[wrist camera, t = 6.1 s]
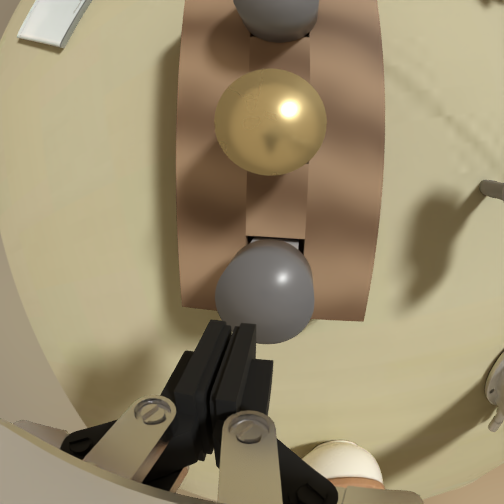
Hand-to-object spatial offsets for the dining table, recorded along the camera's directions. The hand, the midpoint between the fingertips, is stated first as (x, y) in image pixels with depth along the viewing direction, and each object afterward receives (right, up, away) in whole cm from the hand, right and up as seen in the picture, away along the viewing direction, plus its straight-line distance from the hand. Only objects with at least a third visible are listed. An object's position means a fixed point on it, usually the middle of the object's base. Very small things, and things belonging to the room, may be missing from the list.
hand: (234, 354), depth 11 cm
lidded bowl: (+12, -25, +24) cm, 36 cm away
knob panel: (+3, +13, +13) cm, 19 cm away
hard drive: (-25, +34, +12) cm, 44 cm away
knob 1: (+3, +21, +9) cm, 24 cm away
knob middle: (+3, +12, +9) cm, 16 cm away
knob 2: (+3, +3, +12) cm, 13 cm away
